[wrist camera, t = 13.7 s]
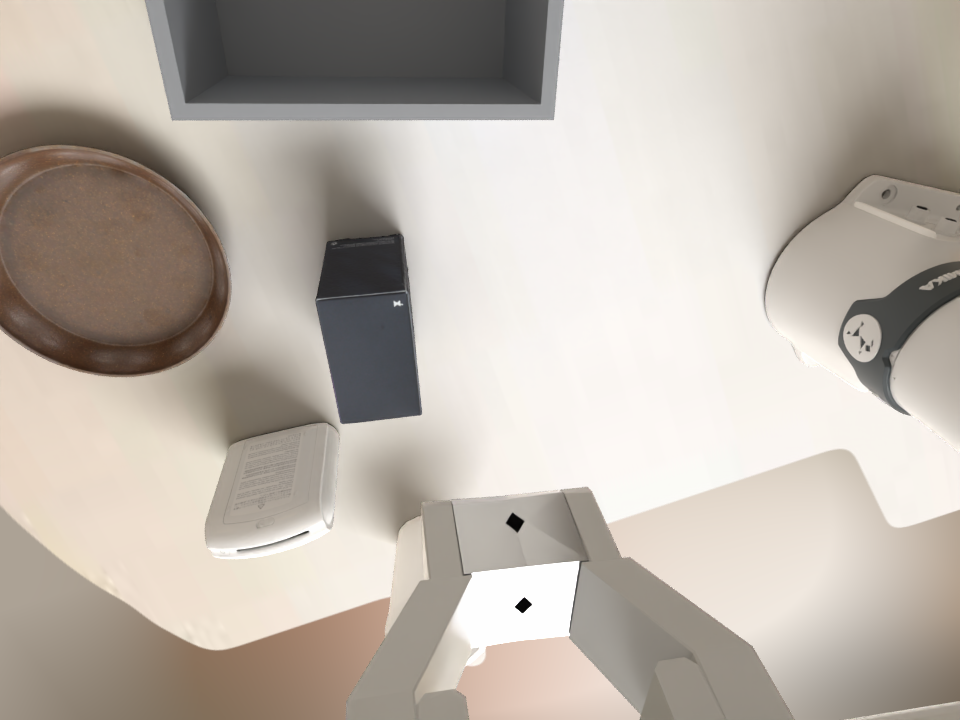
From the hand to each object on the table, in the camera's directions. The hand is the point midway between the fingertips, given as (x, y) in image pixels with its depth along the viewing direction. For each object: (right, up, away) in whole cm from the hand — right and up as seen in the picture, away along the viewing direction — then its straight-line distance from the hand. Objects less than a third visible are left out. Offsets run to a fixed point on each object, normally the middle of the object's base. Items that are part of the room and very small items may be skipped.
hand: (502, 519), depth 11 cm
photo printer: (-19, -5, +46) cm, 50 cm away
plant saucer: (-28, +11, +35) cm, 46 cm away
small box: (-9, +8, +40) cm, 42 cm away
